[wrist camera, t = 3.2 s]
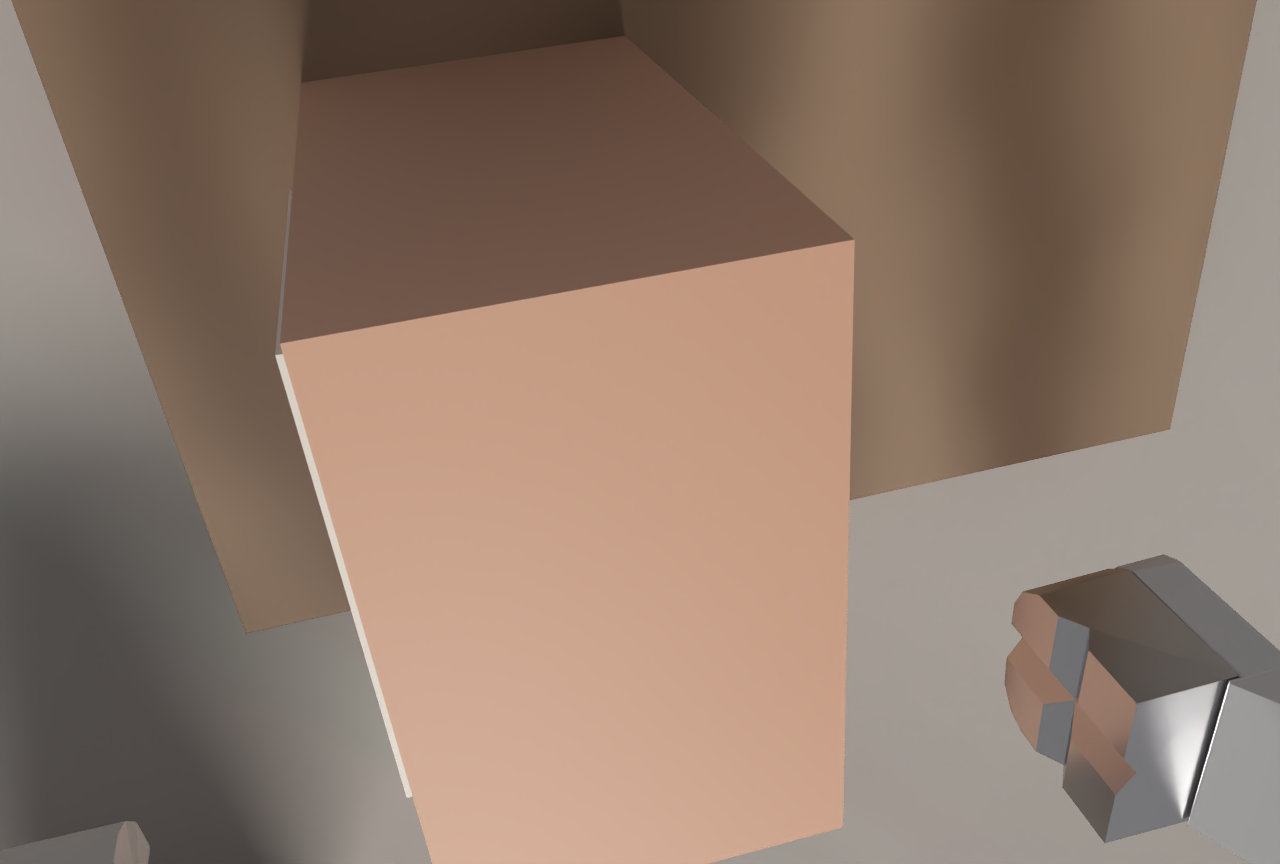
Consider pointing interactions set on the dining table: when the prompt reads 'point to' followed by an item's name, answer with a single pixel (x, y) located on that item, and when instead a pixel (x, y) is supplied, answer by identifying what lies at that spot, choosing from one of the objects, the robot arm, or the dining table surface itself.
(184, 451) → the shelf plank
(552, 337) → the terracotta carton
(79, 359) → the dining table surface
